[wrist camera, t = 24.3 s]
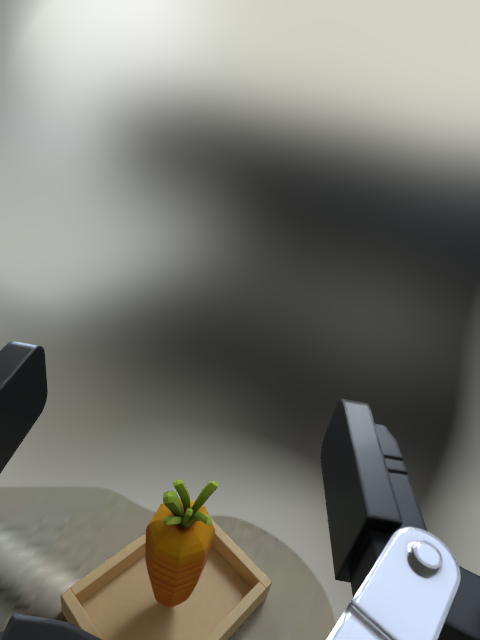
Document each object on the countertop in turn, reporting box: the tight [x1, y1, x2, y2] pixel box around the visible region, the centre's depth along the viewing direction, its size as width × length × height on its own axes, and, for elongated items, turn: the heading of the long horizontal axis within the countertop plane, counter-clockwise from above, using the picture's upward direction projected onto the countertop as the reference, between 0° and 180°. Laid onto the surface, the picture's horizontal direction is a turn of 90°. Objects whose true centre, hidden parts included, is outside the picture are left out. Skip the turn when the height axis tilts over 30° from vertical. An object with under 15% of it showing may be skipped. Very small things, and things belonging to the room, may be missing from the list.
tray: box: [61, 499, 272, 640], centre depth 36 cm, size 14×11×3 cm
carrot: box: [145, 480, 219, 608], centre depth 32 cm, size 5×5×15 cm
